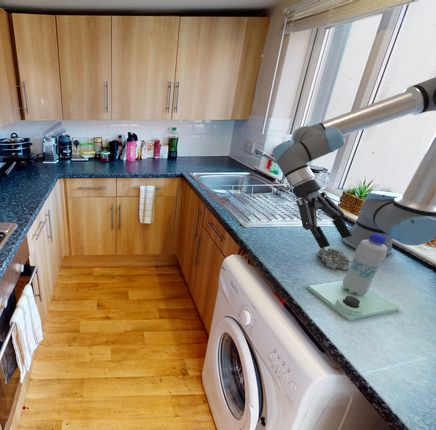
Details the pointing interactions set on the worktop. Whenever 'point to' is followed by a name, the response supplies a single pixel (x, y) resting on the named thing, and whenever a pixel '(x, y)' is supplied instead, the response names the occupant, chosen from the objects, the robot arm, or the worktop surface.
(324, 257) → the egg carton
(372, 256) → the bottle
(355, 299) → the button
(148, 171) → the worktop surface
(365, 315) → the scale
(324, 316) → the worktop surface
